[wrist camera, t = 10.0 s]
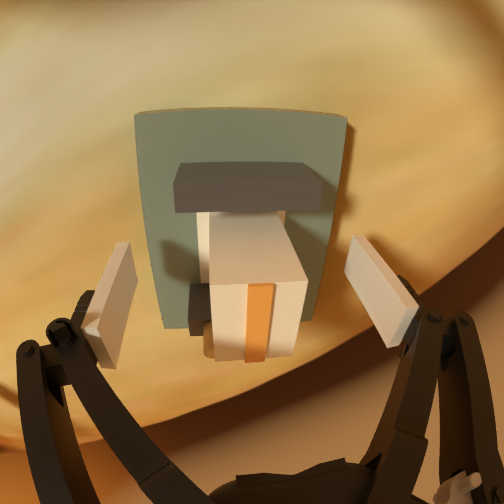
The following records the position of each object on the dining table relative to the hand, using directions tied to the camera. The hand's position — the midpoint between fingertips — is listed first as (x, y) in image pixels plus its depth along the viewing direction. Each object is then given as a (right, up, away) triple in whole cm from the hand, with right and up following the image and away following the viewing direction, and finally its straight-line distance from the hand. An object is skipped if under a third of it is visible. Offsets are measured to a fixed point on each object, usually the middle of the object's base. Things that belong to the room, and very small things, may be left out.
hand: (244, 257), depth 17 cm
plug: (0, +1, +2) cm, 2 cm away
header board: (0, +2, +3) cm, 4 cm away
